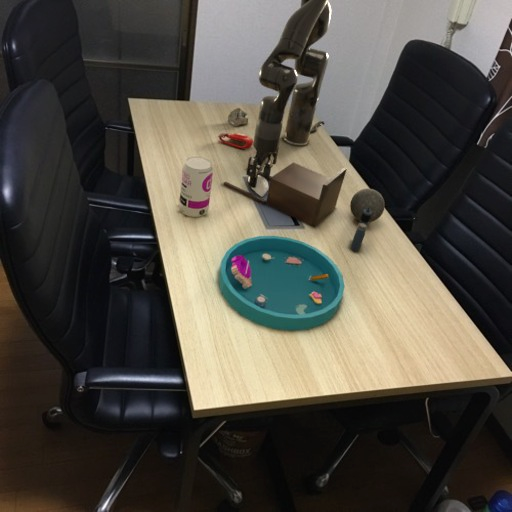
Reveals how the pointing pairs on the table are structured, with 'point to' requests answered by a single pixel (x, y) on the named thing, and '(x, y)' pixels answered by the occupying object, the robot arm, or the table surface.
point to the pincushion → (260, 185)
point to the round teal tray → (281, 283)
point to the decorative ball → (367, 204)
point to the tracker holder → (237, 137)
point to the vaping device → (361, 230)
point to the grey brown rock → (237, 117)
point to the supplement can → (195, 186)
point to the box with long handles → (301, 193)
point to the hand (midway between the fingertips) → (259, 182)
